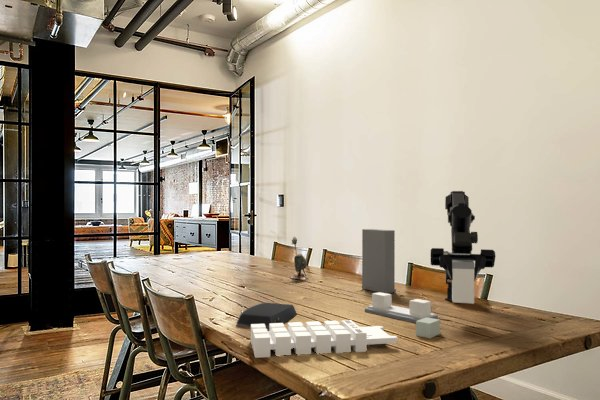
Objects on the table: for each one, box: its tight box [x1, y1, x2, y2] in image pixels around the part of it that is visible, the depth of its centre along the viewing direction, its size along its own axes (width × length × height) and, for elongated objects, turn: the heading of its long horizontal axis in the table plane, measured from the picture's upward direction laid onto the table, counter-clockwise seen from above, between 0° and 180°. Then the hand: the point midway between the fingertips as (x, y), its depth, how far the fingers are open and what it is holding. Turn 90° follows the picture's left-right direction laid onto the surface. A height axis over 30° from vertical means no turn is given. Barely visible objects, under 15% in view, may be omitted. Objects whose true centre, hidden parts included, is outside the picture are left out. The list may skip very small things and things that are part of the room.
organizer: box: [250, 319, 398, 359], centre depth 118 cm, size 13×5×35 cm
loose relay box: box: [415, 317, 441, 339], centre depth 129 cm, size 6×4×4 cm, turn 138°
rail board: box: [364, 292, 439, 324], centre depth 152 cm, size 10×21×6 cm, turn 41°
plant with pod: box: [289, 236, 309, 280], centre depth 225 cm, size 8×11×20 cm
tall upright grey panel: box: [361, 228, 397, 294], centre depth 195 cm, size 14×6×25 cm, turn 34°
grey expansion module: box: [451, 260, 475, 305], centre depth 142 cm, size 5×6×12 cm
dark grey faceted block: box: [235, 302, 298, 330], centre depth 145 cm, size 13×19×4 cm
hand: (463, 279), depth 140 cm, fingers closed on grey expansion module, 6 cm apart
